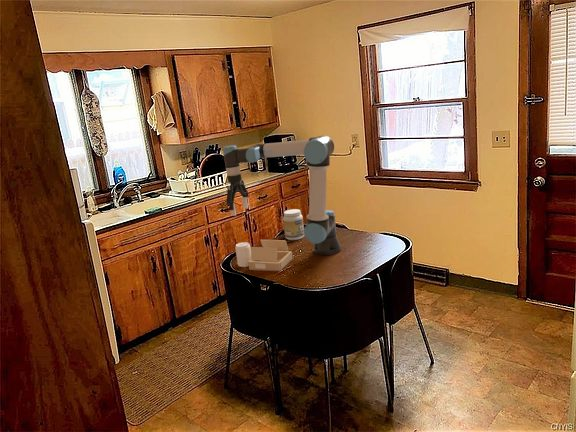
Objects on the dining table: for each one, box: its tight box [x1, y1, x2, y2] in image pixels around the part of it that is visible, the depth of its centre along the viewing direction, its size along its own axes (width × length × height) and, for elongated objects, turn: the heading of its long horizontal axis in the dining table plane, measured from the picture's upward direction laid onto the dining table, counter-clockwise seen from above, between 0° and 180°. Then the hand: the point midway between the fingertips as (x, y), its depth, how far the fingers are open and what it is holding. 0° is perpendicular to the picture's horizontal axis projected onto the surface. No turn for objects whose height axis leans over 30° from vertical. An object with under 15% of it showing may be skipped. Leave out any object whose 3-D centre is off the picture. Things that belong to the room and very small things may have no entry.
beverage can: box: [234, 241, 252, 268], centre depth 252 cm, size 8×8×12 cm
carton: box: [248, 250, 294, 273], centre depth 249 cm, size 19×17×4 cm
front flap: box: [250, 246, 278, 261], centre depth 242 cm, size 15×7×1 cm
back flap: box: [260, 239, 290, 251], centre depth 253 cm, size 15×7×1 cm
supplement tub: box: [282, 208, 305, 241], centre depth 287 cm, size 12×12×17 cm
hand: (240, 212), depth 257 cm, fingers open, 13 cm apart
